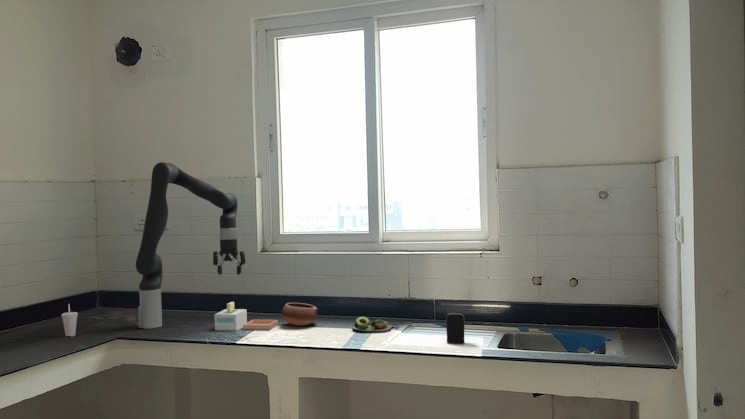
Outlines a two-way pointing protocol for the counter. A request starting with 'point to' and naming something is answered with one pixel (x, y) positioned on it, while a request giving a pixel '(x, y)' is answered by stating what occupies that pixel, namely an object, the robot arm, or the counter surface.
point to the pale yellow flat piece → (230, 307)
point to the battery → (455, 328)
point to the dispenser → (230, 320)
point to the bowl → (299, 313)
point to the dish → (260, 325)
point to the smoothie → (69, 322)
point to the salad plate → (371, 325)
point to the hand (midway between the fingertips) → (229, 274)
